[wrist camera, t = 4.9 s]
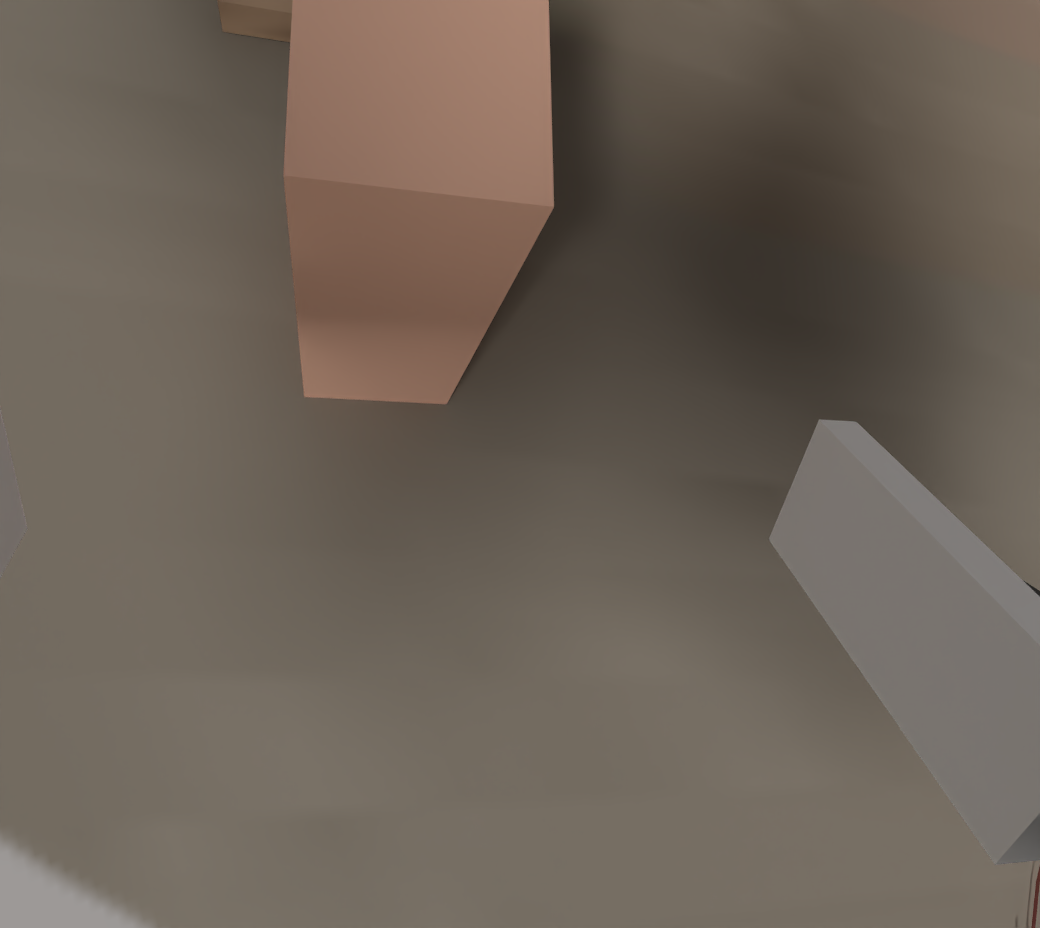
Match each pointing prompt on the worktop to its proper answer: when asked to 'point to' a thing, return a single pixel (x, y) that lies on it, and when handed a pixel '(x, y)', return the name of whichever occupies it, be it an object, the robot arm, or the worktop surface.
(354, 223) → the terracotta book
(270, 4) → the book rack
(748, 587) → the worktop surface
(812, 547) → the robot arm
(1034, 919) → the figurine
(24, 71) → the worktop surface
